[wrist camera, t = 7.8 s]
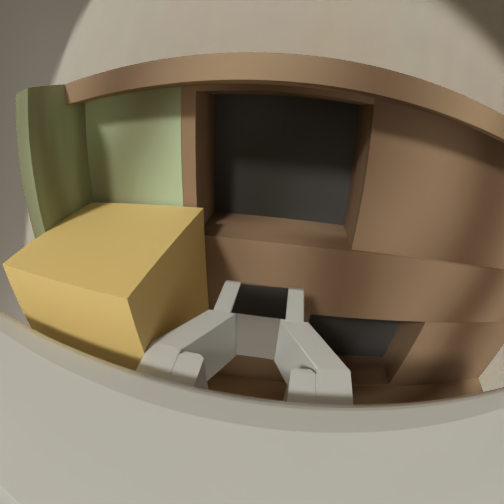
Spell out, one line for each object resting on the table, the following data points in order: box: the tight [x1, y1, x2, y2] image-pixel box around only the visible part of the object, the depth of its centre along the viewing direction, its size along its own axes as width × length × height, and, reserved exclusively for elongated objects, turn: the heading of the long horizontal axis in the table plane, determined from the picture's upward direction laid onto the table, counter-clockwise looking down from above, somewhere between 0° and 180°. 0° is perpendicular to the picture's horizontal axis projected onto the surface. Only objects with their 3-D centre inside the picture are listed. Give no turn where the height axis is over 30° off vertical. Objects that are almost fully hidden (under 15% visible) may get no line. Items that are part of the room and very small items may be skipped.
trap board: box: [16, 52, 504, 405], centre depth 10 cm, size 23×15×5 cm, turn 88°
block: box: [3, 202, 209, 371], centre depth 9 cm, size 5×5×5 cm
